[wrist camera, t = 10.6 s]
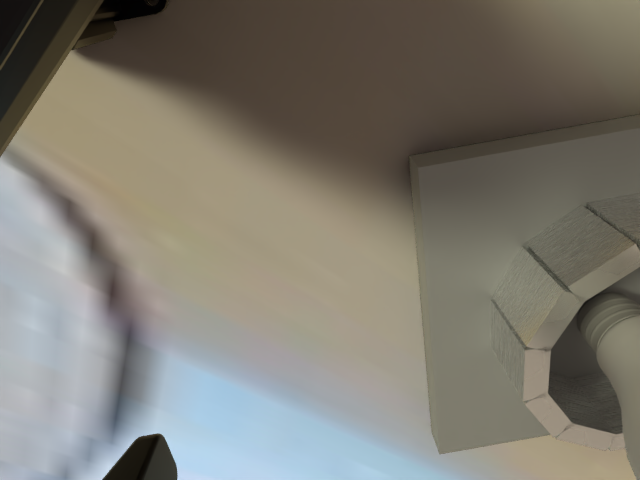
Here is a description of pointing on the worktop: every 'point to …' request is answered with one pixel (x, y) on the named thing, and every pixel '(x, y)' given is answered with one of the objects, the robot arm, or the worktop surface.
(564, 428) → the socket collar
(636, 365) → the lightbulb
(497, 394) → the socket plate
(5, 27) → the robot arm
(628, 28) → the worktop surface
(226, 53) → the worktop surface
